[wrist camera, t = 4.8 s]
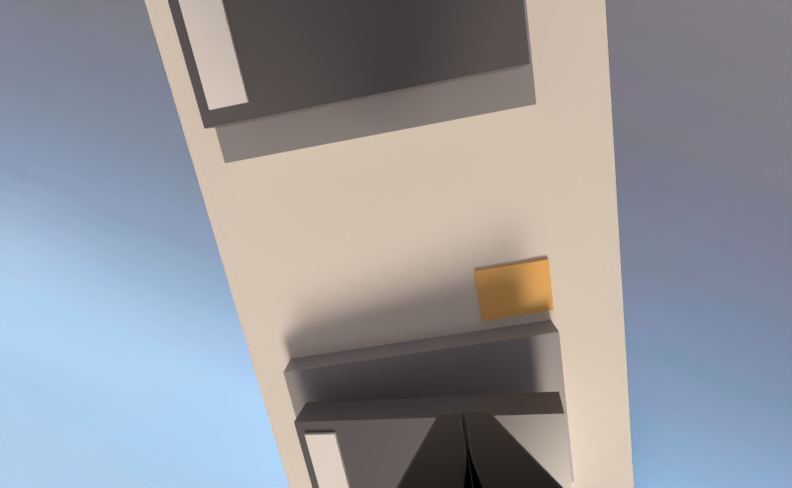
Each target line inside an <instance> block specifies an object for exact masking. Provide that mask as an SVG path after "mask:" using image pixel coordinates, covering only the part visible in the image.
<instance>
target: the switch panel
mask: <svg viewBox="0 0 792 488" xmlns="http://www.w3.org/2000/svg"><path fill="white" fill-rule="evenodd" d="M145 3H146V7H147V10H148V13H149V17H150V20H151V23H152V27H153V30H154V34H155V37H156V40H157V44H158V47H159V50H160V54H161V57H162V60H163V64H164V67H165V71H166V74H167V77H168V81H169V84H170V87H171V91H172V94H173V97H174V101H175V104H176V107H177V111H178V114H179V118H180V121H181V124H182V128H183V131H184V134H185V138H186V141H187V144H188V148H189V151H190V155H191V158H192V161H193V165H194V168H195V171H196V175H197V178H198V181H199V185H200V188H201V191H202V195H203V198H204V202H205V205H206V208H207V212H208V215H209V218H210V222H211V225H212V228H213V232H214V235H215V239H216V242H217V245H218V249H219V252H220V255H221V259H222V262H223V265H224V269H225V272H226V275H227V279H228V282H229V286H230V289H231V292H232V296H233V299H234V302H235V306H236V309H237V312H238V316H239V319H240V323H241V326H242V329H243V333H244V336H245V339H246V343H247V346H248V349H249V353H250V356H251V359H252V363H253V366H254V370H255V373H256V376H257V380H258V383H259V386H260V390H261V393H262V396H263V400H264V403H265V407H266V410H267V413H268V417H269V420H270V423H271V427H272V430H273V433H274V437H275V440H276V443H277V447H278V450H279V454H280V457H281V460H282V464H283V467H284V470H285V474H286V477H287V480H288V484H289V487H290V488H312V485H311V481H310V477H309V474H308V470H307V467H306V463H305V460H304V456H303V453H302V449H301V445H300V442H299V438H298V435H297V431H296V428H295V424H294V421H295V420H296V418H297V416H298V415H299V413H300V412H301V410H302V408H303V407H304V405H305V403H306V402H326V401H349V400H372V399H396V398H419V397H442V396H465V395H488V394H511V393H534V392H558V391H559V394H560V398H561V402H562V406H563V410H564V414H565V424H566V434H567V444H568V454H569V463H570V473H571V483H572V488H634V483H633V466H632V449H631V432H630V415H629V398H628V381H627V364H626V347H625V330H624V313H623V296H622V279H621V262H620V245H619V228H618V211H617V194H616V177H615V160H614V143H613V126H612V109H611V92H610V75H609V58H608V42H607V25H606V8H605V0H524V10H525V20H526V30H527V40H528V50H529V59H530V64H528V65H526V66H524V67H522V68H519V69H514V70H509V71H504V72H499V73H494V74H489V75H484V76H479V77H474V78H469V79H464V80H459V81H454V82H449V83H444V84H439V85H434V86H429V87H424V88H419V89H414V90H409V91H404V92H399V93H394V94H389V95H384V96H379V97H374V98H369V99H364V100H358V101H353V102H348V103H343V104H338V105H333V106H328V107H323V108H318V109H313V110H308V111H303V112H298V113H293V114H288V115H283V116H278V117H273V118H268V119H263V120H258V121H253V122H248V123H243V124H238V125H233V126H228V127H223V128H206V129H204V126H203V122H202V119H201V115H200V112H199V108H198V105H197V101H196V98H195V94H194V91H193V87H192V84H191V80H190V77H189V73H188V70H187V66H186V63H185V59H184V56H183V52H182V49H181V45H180V42H179V38H178V35H177V31H176V28H175V24H174V21H173V17H172V14H171V10H170V7H169V3H168V0H145Z"/></svg>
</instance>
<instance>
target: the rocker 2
mask: <svg viewBox="0 0 792 488" xmlns="http://www.w3.org/2000/svg"><path fill="white" fill-rule="evenodd" d="M476 409H487V410H488V411H489V412H490V413H491V414H492V415H493V416H494V417H495V418H496V419H497V420H498V421H499V422H500V423H501V424H502V425H503V426H504V427H505V428H506V429H507V430H508V431H509V432H510V433H511V434H512V435H513V436H514V437H515V438H516V439H517V440H518V442H519V443H520V444H521V445H522V446H523V447H524V448H525V449H526V450H527V451H528V452H529V453H530V454H531V455H532V456H533V457H534V458H535V459H536V460H537V461H538V462H539V463H540V464H541V465H542V466H543V467H544V468H545V469H546V470H547V471H548V472H549V473H550V474H551V475H552V477H553V478H554V479H555V480H556V481H557V482H558V483H559V484H560V485H561V486H562V487H563V488H572V483H571V473H570V463H569V454H568V444H567V434H566V424H565V414H564V410H563V406H562V402H561V398H560V394H559V391H558V392H534V393H511V394H488V395H465V396H442V397H419V398H396V399H372V400H349V401H326V402H306V403H305V405H304V407H303V408H302V410H301V412H300V413H299V415H298V416H297V418H296V420H295V421H294V424H295V428H296V431H297V435H298V438H299V442H300V445H301V449H302V453H303V456H304V460H305V463H306V467H307V470H308V474H309V477H310V481H311V485H312V488H396V487H397V485H398V483H399V482H400V480H401V478H402V476H403V475H404V473H405V471H406V469H407V468H408V466H409V464H410V462H411V461H412V459H413V457H414V455H415V454H416V452H417V450H418V448H419V447H420V445H421V443H422V441H423V440H424V438H425V436H426V434H427V433H428V431H429V429H430V427H431V425H432V424H433V422H434V420H435V418H436V417H437V415H438V414H439V413H446V412H456V411H459V412H461V413H462V415H463V413H464V412H465V411H467V410H476ZM463 420H464V418H463ZM464 428H465V426H464ZM465 435H466V434H465ZM466 442H467V441H466ZM467 449H468V448H467ZM468 457H469V456H468ZM469 464H470V463H469ZM470 472H471V471H470ZM471 479H472V478H471ZM472 486H473V485H472Z"/></svg>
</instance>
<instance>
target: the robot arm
mask: <svg viewBox="0 0 792 488" xmlns="http://www.w3.org/2000/svg"><path fill="white" fill-rule="evenodd" d="M463 418H464V420H463ZM464 426H465V428H464ZM465 434H466V435H465ZM466 441H467V442H466ZM467 448H468V449H467ZM468 456H469V457H468ZM469 463H470V464H469ZM470 471H471V472H470ZM471 478H472V479H471ZM472 485H473V486H472ZM396 488H563V487H562V486H561V485H560V484H559V483H558V482H557V481H556V480H555V479H554V478H553V477H552V475H551V474H550V473H549V472H548V471H547V470H546V469H545V468H544V467H543V466H542V465H541V464H540V463H539V462H538V461H537V460H536V459H535V458H534V457H533V456H532V455H531V454H530V453H529V452H528V451H527V450H526V449H525V448H524V447H523V446H522V445H521V444H520V443H519V442H518V440H517V439H516V438H515V437H514V436H513V435H512V434H511V433H510V432H509V431H508V430H507V429H506V428H505V427H504V426H503V425H502V424H501V423H500V422H499V421H498V420H497V419H496V418H495V417H494V416H493V415H492V414H491V413H490V412H489V411H488V410H487V409H476V410H467V411H465V412H464V413H463V415H462V413H461V412H459V411H456V412H446V413H439V414H438V415H437V417H436V418H435V420H434V422H433V424H432V425H431V427H430V429H429V431H428V433H427V434H426V436H425V438H424V440H423V441H422V443H421V445H420V447H419V448H418V450H417V452H416V454H415V455H414V457H413V459H412V461H411V462H410V464H409V466H408V468H407V469H406V471H405V473H404V475H403V476H402V478H401V480H400V482H399V483H398V485H397V487H396Z"/></svg>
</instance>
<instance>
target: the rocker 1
mask: <svg viewBox="0 0 792 488" xmlns="http://www.w3.org/2000/svg"><path fill="white" fill-rule="evenodd" d="M168 3H169V7H170V10H171V14H172V17H173V21H174V24H175V28H176V31H177V35H178V38H179V42H180V45H181V49H182V52H183V56H184V59H185V63H186V66H187V70H188V73H189V77H190V80H191V84H192V87H193V91H194V94H195V98H196V101H197V105H198V108H199V112H200V115H201V119H202V122H203V126H204V129H206V128H223V127H228V126H233V125H238V124H243V123H248V122H253V121H258V120H263V119H268V118H273V117H278V116H283V115H288V114H293V113H298V112H303V111H308V110H313V109H318V108H323V107H328V106H333V105H338V104H343V103H348V102H353V101H358V100H364V99H369V98H374V97H379V96H384V95H389V94H394V93H399V92H404V91H409V90H414V89H419V88H424V87H429V86H434V85H439V84H444V83H449V82H454V81H459V80H464V79H469V78H474V77H479V76H484V75H489V74H494V73H499V72H504V71H509V70H514V69H519V68H522V67H524V66H526V65H528V64H530V59H529V50H528V40H527V30H526V20H525V10H524V0H168Z"/></svg>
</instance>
